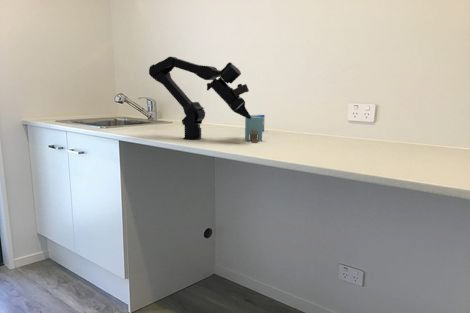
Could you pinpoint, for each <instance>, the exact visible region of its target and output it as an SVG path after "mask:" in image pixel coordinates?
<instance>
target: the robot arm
mask: <svg viewBox="0 0 470 313" xmlns="http://www.w3.org/2000/svg"><path fill="white" fill-rule="evenodd" d="M175 68H177V69H179V70H183V71H187V72H189V73H193V74H194V75H196V76H197V77H199V78H201V79H203V80H204V81H210V82H208V83H206V91H210V89H212V90H213V91H214V92H215V93H216V94H217V96H219V97H220V98H221V99H222V100H223V102H225V104H226V105H227V106H228V107H229V109H231V111H232V112H234V113H236V114H238V115H240V116H242V117H243V118H245V117H246V118H248V119H251V116H250V115H251V114H250V112H249V111H248V109H247V108H246V101H245V100H244V98H243V97H242V96H241V97H240V95H243V94H245V93H248V92H250V90H249V88H248V85H247V84H246V83H245V84H242V83H238V84H237V86H236V88H234V89H233V87H230V86H229V85H228V84H232V83H234V81H236V80H237V79H238V78H239V77H240V76H241V75H242V72H241V71H240V69H239V68H238V67H236V65H234V64H233V63H232V62H228V63H227V64H226V65H225V66H224V67H223V68H222V69H221V70H220V69H217V67H216V66H211V65H201V64H196V63H193V62H190V61H187V60H184V59H181V58H177V57H176V56H168V57H166V58H165V59H163V60H161V61H159V62H157V63H155V64H151V65H150V66H149V69H148V74H149V76H150V77H151V78H152V79H154V80H155V81H156V82H158V83H160V84H161V85H163V87H164V88H165V89H166V90H167V91H168V93H170V94H171V95H172V97H173V98H174V99H175V100H176V101H177V103H179V105H180V107H181V108H182V109H183V114H184V115H185V117H183V118H182V120H181V123H182V125H183V126H184V137H183V140H199V139H201V138H202V127H201V125H202V123H203V120H204V119H205V118H206V112H205V107H203V106H202V105H201V103H200V102H199V101H192V100H191V99H190V98H189V97H188V96H187V95H186V93H185V92H184V90H183V89H181V88H180V86H178V84H177V83H176V82H175V81H174V80H173V79H172V76H171V75H172V74H171V73H170V72H172V71H173V70H174V69H175ZM217 78H218V79H217Z"/></svg>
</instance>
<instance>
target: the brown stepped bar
mask: <svg viewBox="0 0 470 313" xmlns="http://www.w3.org/2000/svg"><path fill="white" fill-rule="evenodd" d="M257 133H258V131H257V130H252V135H249V141H251V143H255V144H256V143H258V135H257Z"/></svg>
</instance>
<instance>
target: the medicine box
mask: <svg viewBox="0 0 470 313" xmlns="http://www.w3.org/2000/svg"><path fill="white" fill-rule="evenodd" d="M250 116H251V117H262V133H263V132H265V116H266V115H265V114H252V115H251V114H250Z"/></svg>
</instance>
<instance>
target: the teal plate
mask: <svg viewBox="0 0 470 313" xmlns="http://www.w3.org/2000/svg"><path fill="white" fill-rule="evenodd" d="M244 118H245V121H244V125H245V127H244V129H245V130H244V140H245V142H249V141H250V135H252V130H257V131H258V133H257V142H263V132H262V117H251V119H248V118H246V117H244Z"/></svg>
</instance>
